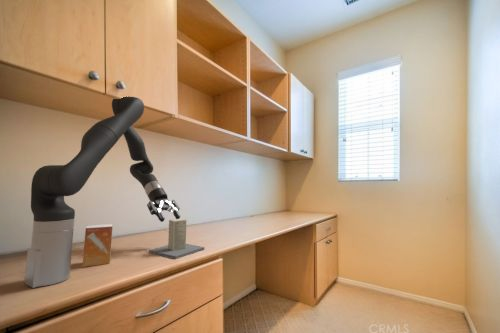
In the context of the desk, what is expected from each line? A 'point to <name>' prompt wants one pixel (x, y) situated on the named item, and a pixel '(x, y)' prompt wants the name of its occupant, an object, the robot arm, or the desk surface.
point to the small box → (97, 245)
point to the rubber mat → (176, 251)
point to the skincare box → (177, 234)
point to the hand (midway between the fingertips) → (171, 219)
